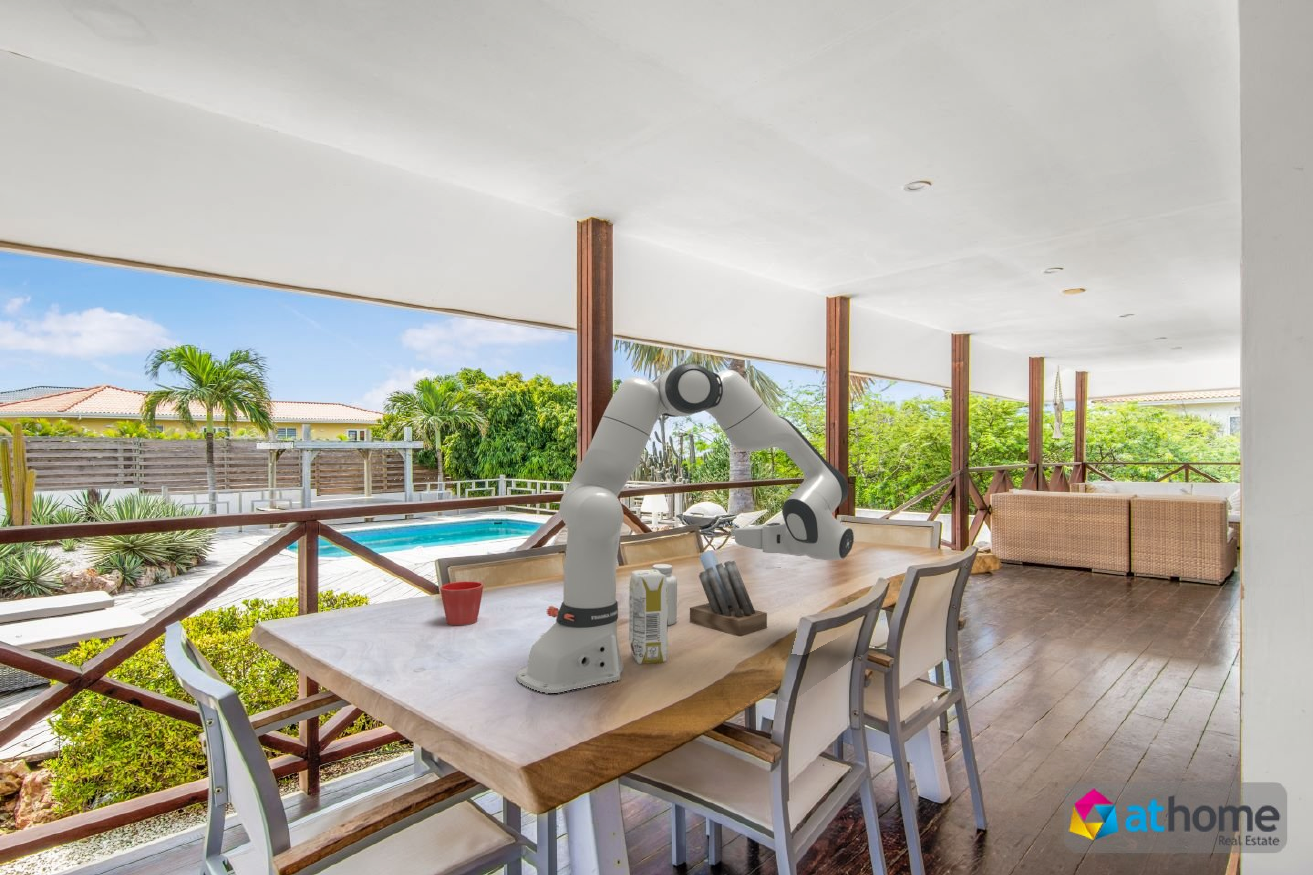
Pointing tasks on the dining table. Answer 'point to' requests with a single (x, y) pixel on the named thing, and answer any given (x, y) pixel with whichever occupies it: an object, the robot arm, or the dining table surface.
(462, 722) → the dining table surface
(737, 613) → the slanted rod rack
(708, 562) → the peg
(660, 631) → the juice carton
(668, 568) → the pill bottle
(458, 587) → the flower pot
